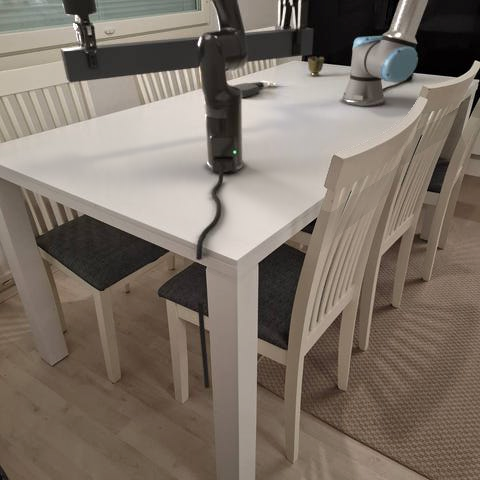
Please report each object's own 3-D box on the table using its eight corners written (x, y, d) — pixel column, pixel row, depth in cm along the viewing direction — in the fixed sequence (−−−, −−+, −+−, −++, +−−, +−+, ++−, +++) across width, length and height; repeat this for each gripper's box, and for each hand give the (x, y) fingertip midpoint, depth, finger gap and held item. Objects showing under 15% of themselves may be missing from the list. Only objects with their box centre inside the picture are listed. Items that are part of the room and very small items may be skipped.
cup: (304, 76, 210) (305, 58, 205) (310, 73, 215) (311, 55, 211) (319, 77, 207) (321, 59, 202) (324, 74, 212) (326, 56, 208)
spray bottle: (223, 95, 183) (259, 84, 199) (243, 99, 177) (279, 87, 193) (222, 87, 181) (259, 77, 197) (243, 91, 175) (279, 80, 191)
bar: (69, 82, 112) (63, 51, 108) (66, 79, 115) (60, 48, 112) (312, 54, 140) (313, 28, 136) (303, 52, 143) (304, 27, 140)
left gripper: (99, -9, 102) (112, 70, 111) (87, -10, 113) (100, 61, 122) (65, -7, 99) (81, 74, 108) (56, -9, 110) (71, 64, 119)
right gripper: (323, -35, 121) (317, 56, 134) (287, -35, 135) (285, 48, 147) (300, -34, 118) (296, 59, 131) (266, -34, 132) (266, 50, 144)
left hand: (91, 67), depth 115 cm, fingers closed on bar, 4 cm apart
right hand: (291, 53), depth 139 cm, fingers closed on bar, 5 cm apart
